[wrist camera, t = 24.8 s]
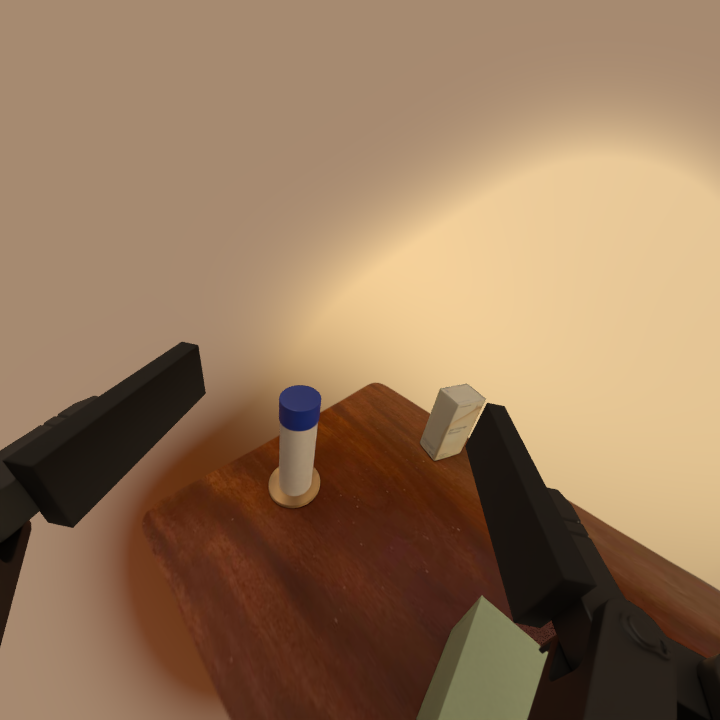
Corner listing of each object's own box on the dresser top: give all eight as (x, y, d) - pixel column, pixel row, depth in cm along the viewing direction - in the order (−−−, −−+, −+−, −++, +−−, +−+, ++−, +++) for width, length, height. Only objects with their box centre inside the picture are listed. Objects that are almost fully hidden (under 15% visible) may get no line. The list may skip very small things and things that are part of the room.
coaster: (271, 514, 35) (271, 511, 35) (266, 468, 41) (266, 465, 40) (325, 501, 38) (325, 498, 38) (314, 459, 43) (314, 456, 43)
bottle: (280, 500, 36) (282, 413, 29) (276, 471, 40) (277, 386, 32) (315, 492, 38) (325, 408, 30) (308, 464, 42) (316, 383, 34)
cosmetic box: (433, 462, 47) (458, 406, 40) (418, 442, 50) (438, 388, 44) (461, 453, 49) (488, 399, 43) (444, 434, 53) (467, 382, 46)
